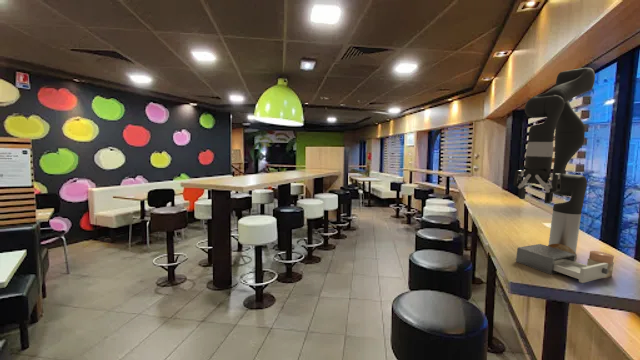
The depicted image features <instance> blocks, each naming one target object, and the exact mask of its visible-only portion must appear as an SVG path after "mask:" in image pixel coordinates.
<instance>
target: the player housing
mask: <svg viewBox="0 0 640 360" xmlns="http://www.w3.org/2000/svg"><path fill="white" fill-rule="evenodd" d="M515 257H516V258H515V263H519V264H522V265H524V266H526V265H527V267H529V268H532V269H534V270H537V271H540V272H543V273H546V274H547V275H551V274H552V275H555V273H556V274H561V273H560V272H557V271H554V270H553V269H554V262H555V260H556V259H561V258H565V259H568V260H572V261H575V262H577V258H576V257H577V254H573V253H570V252H566V251H563V250H559V249H556V248H552V247H549V246H548V245H546V244H545V245H544V244H542V243H538V244H532V245H531V244H530V245H524V246H518V247H517V250H516V256H515Z"/></svg>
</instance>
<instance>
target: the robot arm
mask: <svg viewBox="0 0 640 360" xmlns="http://www.w3.org/2000/svg"><path fill="white" fill-rule="evenodd" d="M595 79H596V73H595V70H594V69H593V68H591V67H582V68H575V69H570V70H563V71H560V72H559V73H558V74H557V76H556V80H555V86H553V87H551V88H550V89H549V90H548V91H546V92H544V93H540V94H538V95H535V96H533V97H531V98H530V99H529V100H528V101H527V102H526V103H525V106H524V112H525V115H526V116H527V117H528V118H532V119H539V118H540V119H542V118H543V119H544V118H546V119H545V121H543V122H541V123H539V124H534V125H531V126H530V127H529V130H528V140H527V146H526V150H525V151H526V152H525V160H524V161H525V162H524V170H522V169H520V170H517V169H516V170H515V173H514V176H513V177H514V179H513V187H516V188H517V189H518V195H517V196H518V198H519V199H520V200H524V199H526V191H527V190H526V187H528V186H529V185H531V184H535V185H540V186H541V187H542V188H543V189H544V190H545V194H544V204H551V202H553V196H554V195H557V196H564V197H570V199H569V200H568V201H564V202H559V203H558V202H557V203H554V204H553V207H552V214H551V223H550V224H551V225H550V231H549V237H548V245H551V244H563V245H565V246H569V247H570V248H571V249H572V250H573V251H574V252H575V254H576V253H577V248H578V247H577V246H578V238H579V233H580V226H581V218H582V212H583V211H582V210H583V207H584V201H585V196H586V192H587V191H586V190H587V187H588V186H587V185H588V180H587V178H586V176H584V175H582V174H581V175H580V174H571V173H569V174H568V173H566V168H567V165H568V164H569V162H570V160H572V158H573V157H574V156H575V155H576V154H577V152H578V151H580V149H581V148H582V147H583V145H584V143H585V133H586V132H585V131H586V127H585V124H584V122H583V120H582V119H581V118H580V116H578V114H577V113H576V112H575V109H573V107H572V106H571V104H570V100H571V99H573V98H575V97H577V96H579V95H581V94H584V93H587V92H589V91H590V90H591V89H592V88H593V86H594V84H595V81H596V80H595ZM553 157H554V158H553ZM553 159H554V161H553ZM552 163H553V164H552ZM552 165H553V166H552ZM552 167H553V169H552ZM551 170H552V172H551ZM523 176H524V178H523ZM549 179H551V182H550V180H549ZM576 255H577V254H576Z"/></svg>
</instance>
